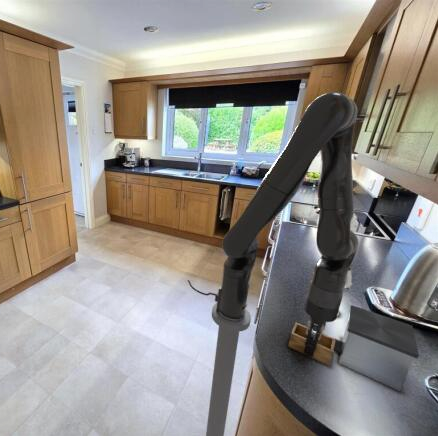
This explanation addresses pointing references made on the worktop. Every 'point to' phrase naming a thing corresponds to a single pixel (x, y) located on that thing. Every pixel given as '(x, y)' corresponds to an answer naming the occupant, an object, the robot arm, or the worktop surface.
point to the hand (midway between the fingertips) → (310, 347)
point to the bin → (377, 347)
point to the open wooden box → (323, 345)
